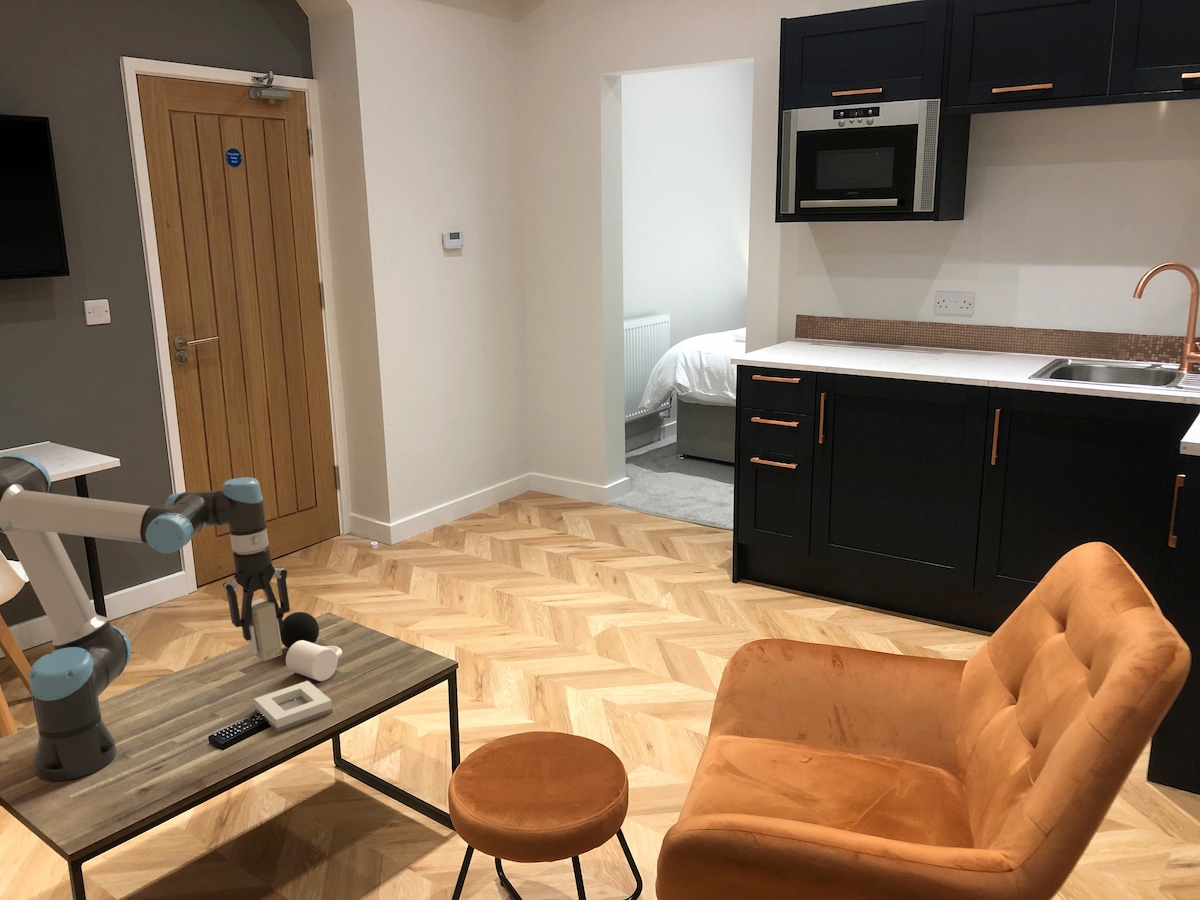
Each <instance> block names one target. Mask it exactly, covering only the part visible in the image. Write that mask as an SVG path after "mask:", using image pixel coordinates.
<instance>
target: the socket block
mask: <svg viewBox="0 0 1200 900" xmlns="http://www.w3.org/2000/svg"><path fill="white" fill-rule="evenodd" d="M295 699H296V700H295ZM291 700H292V701H291ZM253 703H254V709H255V712H256V713H258V712H259V713H262V714H263V715H264V716H265V718H266V719H267V720H268V722H269V723H268V722H267V723H268V724H269V725H270V726H271V727H272V729H274V730H275V731H276V732H277V733H279V732H282V731H284V730H287V729H290V728H292V727H296V726H298V725H300V724H303V723H306V722H310V721H312V720H314V719H317V718H320V717H323V716H326V715H328V714H332V713H334V711H333V701H332V699H331V698H330V697H328V695H326V694H325V693H324V692H322V691H321V690H320V689H319V688H318V687H317V686H315V685H314V684H313V683H311V681H309V680H305V681H302V682H300V683H297V684H294V685H291V686H288V687H285V688H282V689H279V690H276V691H273V692H270V693H269V692H268V693H266V694H264V695H261V696H258V697H255V698H253ZM259 713H258V714H259Z"/></svg>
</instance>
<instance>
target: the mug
mask: <svg viewBox="0 0 1200 900" xmlns="http://www.w3.org/2000/svg"><path fill="white" fill-rule="evenodd" d="M342 654H343V650H342V649H341V648H340V647H339V646H337V645H319V644H316V643H311V642H308V641H304V640H300V641H297V642H295V643H294V644H293V645H292V646H291V647H290V648H288V650H287V653H286V656H285V664H286V667H287V669H288V670H289V671H290V672H292V673H295V674H298V675H301V676H304V677H306V678H309V679H312V680H315V681H318V682H323V681H324V682H325V681H326V680H329V678H331V677H332V676H333V675H334V674H335V671H336V670H337V667H338V663H339V662H338V659H339V658H340V657H341V656H342Z"/></svg>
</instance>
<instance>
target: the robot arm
mask: <svg viewBox="0 0 1200 900" xmlns="http://www.w3.org/2000/svg"><path fill="white" fill-rule="evenodd" d="M51 484H52V480H51V477H50V474H49V471H48V469H47V468H46V467H45V465H43V464H42V463H41V462H40V461H39V460H37V459H35V458H34V457H31V456H29V455H25V454H20V453H14V454H8V455H7V454H6V455H4V456H0V532H1V533H3V534H5V535H6V537H7V539H8V540H9V543H10V545H11V548H13V551H14V553H15V555H16V556H17V559H18V560H19V563H20V565H21V567H22V569H23V570H24V572H25V575H26V576H27V579H28V581H29V583H30V584H31V586H32V589H33V591H34V593H35V595H36V596H37V599H38V600H39V602H40V605H41V606H42V608H43V611H44V612H45V614H46V616H47V618H48V620H49V623H50V624H51V626H52V628H53V630H54V632H55V635H54V636H53V640H52V641H51V645H52V646H53V648H54V650H52V651H51V653H46V654H45V655H42V656H41V657H40V658H38V659H37V660H36V661H35V662H34V663H33V664H32V665H31V667H30V670H29V673H28V678H29V679H28V680H29V683H28V687H29V692H30V693H31V700H32V703H33V704H32V705H33V709H34V714H35V719H36V720H35V721H36V724H37V730H38V735H39V736H38V742H37V746H36V751H35V757H34V769H35V774H36V776H37V777H39V779H42V780H45V781H49V782H60V781H61V782H62V781H69V780H73V779H74V780H75V779H80V778H82V777H86V776H88V775H91V774H93V773H95V772H97V771H99V770H101V769H102V768H104V767H106V766H107V765H109V763H111V762H112V761H113V760H114V759H115V757H116V755H117V747H116V746H117V745H116V741H115V738H114V737H113V735H112V733H110V731H109V729H108V727H107V726H106V724H105V723H104V721H103V719H102V713H101V707H100V701H99V700H100V699H99V697H100V695H101V694H102V693H103V692H104V691H105V690H106V689H107V688H108V687H109V686H110V685H111V683H113V682H114V681H115V680H116V679H117V678H119V676H120V675H121V674H122V673H123V672H124V670H125V668H126V666H127V665H128V663H129V662H130V659H131V656H132V645H131V641H130V639H129V637H128V636H127V634H126V633H125V632H124V630H122V629H121V628H118V627H116V625H113V624H111V623H110V621H109V619H108V618H107V617H106V616H102V615H99V614H97V612H96V610H95V609H94V606H93V603H92V602H91V600H90V598H89V596H88V594H87V591H86V590H85V587H84V585H83V584H82V582H81V580H80V577H79V575H78V573H77V571H76V569H75V568H74V565H73V564H72V561H71V559H70V557H69V555H68V553H67V551H66V549H65V547H64V545H63V543H62V541H61V539H60V537H59V534H62V535H63V534H64V535H72V536H82V537H91V538H99V539H107V540H116V541H121V542H122V541H124V542H131V543H139V544H140V543H141V544H148V545H149V546H150V548H152V549H154V550H155V551H157V552H158V553H162V554H171V553H174V552H176V551H178V550H179V549H182V548H183V547H184V546H187V545H188V543H189V542H190V541H191V540H192V539H193V538H194V537H195V536H197V534H199V532H201V531H202V530H203V529H204V528H206V527H215V526H216V527H217V526H225V525H227V526H228V530H229V537H230V542H231V543H230V544H231V550H232V551H233V553H232V556H233V563H234V568H235V569H234V570H235V573H234V579H233V578H232V580H230V581H228V582H227V581H225V582H223V584H222V587H223V589H224V590H225V592H226V596H227V601H228V606H229V613H230V614H229V615H230V618H231V623H232V625H234V626H235V627H236V628H241V629H242V637H243V638H244V640H245V641H246V642H248V645H249V651H250V652H251V653H253V654H254V655H253V654H252V655H253V656H255V654H258V652H257V645H256V639H255V632H254V626H253V625H252V624H251V623H250V616H251V606H252V601H253V597H254V595H255V594H254V593H255V592H257V591H258V590H259V591H260V590H262V591H263V593H264V596H265V598H266V600H268V601H270V602H271V603H274V605H275V611H276V618H277V624H278V631H279V637H280V643H281V647H282V646H283V643H282V642H281V636H280V631H281V630H283V628H284V627H283V620H284V619H283V618H284V616H285V614H286V613H289V612H290V611H291V608H290V600H289V594H288V587H287V580H286V579H287V576H288V570H286V569H285V568H284V567H282V566H281V567H278V568H275V567H274V565H273V563H272V562H273V561H272V554H271V550H270V549H271V548H270V547H269V543H270V542H269V536H268V529H267V524H266V515H265V508H264V498H263V494H262V491H261V485H260V482H259V481H258V479H256V478H254V477H250V476H249V477H248V476H247V477H246V476H243V477H237V478H231V479H227V480H226V481H224V482H223V484H222V489H219V490H207V491H202V490H201V491H183V492H180V493H179V492H178V493H173V494H170V495H169V496H168V497H167V498H166V502H165V503H164V507H160V506H152V505H151V506H150V505H144V504H137V503H129V502H121V501H115V500H113V501H112V500H106V499H105V500H104V499H97V498H88V497H81V496H73V495H72V496H71V495H67V494H66V495H65V494H57V493H51V492H50V491H49V490H50V487H51ZM273 577H275V578H276V583H277V590H278V591H277V592H278V598H279V603H278V601H277V598H276V596H275V594H274V592H273V588H272V586H271V581H272V579H273ZM237 585H239V586H240V587H242V601H241V602H242V603H241V610H239V609H240V608H239V603H238V597H237V593H236V591H237V589H238V588H237ZM240 611H241V614H240Z"/></svg>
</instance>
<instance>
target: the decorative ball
mask: <svg viewBox="0 0 1200 900" xmlns="http://www.w3.org/2000/svg"><path fill="white" fill-rule="evenodd" d="M282 620H283V627H284V628H283V630H281V631H280V636H281V643H282V645H283V646H285V648H287V649H289V648H290V647H291V646H292V645H293V644H294V643H295V642H297V641H300V640H304V641H308V642H311V643H314V644H316V642H317V639H318V638H319V634H320V628H319V627H320V626H319V624H318V621H317V620H316V618H315V617H314V616H312V614H310V613H308V612H305V611H296V612H293V613H290V614H289V615H287V616H286V617H285V618H284V619H282Z"/></svg>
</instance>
